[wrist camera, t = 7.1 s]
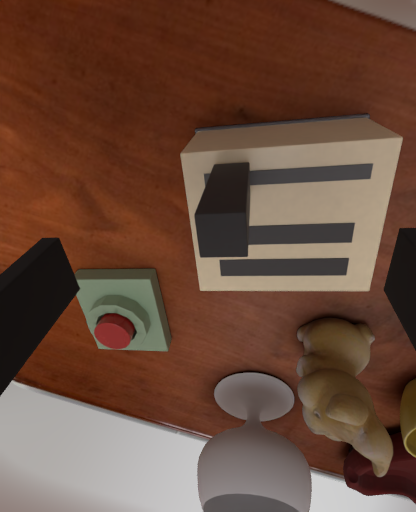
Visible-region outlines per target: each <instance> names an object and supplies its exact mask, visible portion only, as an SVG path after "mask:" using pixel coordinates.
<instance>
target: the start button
mask: <svg viewBox="0 0 416 512" xmlns="http://www.w3.org/2000/svg"><path fill="white" fill-rule="evenodd" d="M134 332H135V327H134V324H133V323H132V322H131V321H130V320H129V319H128V318H127V317H125V316H122V315H120V314H118V313H107V314H105V315H103V316H102V317H101V319H100V321H99V322H98V324H97V326H96V327H95V329H94V335H95V337H96V339H97V340H98V341H99V342H100V343H101V344H103V345H104V346H106V347H108V348H112V349H123V348H125V347H127V346H128V345H129V344H130V342H131V339H132V337H133V335H134Z"/></svg>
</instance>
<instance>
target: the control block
mask: <svg viewBox="0 0 416 512" xmlns="http://www.w3.org/2000/svg"><path fill="white" fill-rule="evenodd" d="M74 275H75V278H76V280H77V282H78V285H79V287H80V290H79V291H78V292H77V294H76V295H77V298H78V300H79V303H80V305H81V307H82V310H83V312H84V315H85V317H86V319H87V321H86V322H87V324H88V327H89V329H90V332H91V333H92V334H93V336H94V338H95V341H96V343H97V345H98V348H99V349H112V348H108V347H106V346H104V345H103V344H101V343H100V342H99V341H98V340H97V339H96V337H95V335H94V329H95V327H96V326H97V324H98V322H99V321H100V319H101V317H102V316H103V315H105V314H107V313H118V314H120V315H122V316H125V317H127V318H128V319H129V320H130V321H131V322H132V323H133V324H134V327H135V332H134V335H133V337H132V339H131V342H130V344H129V345H128V346H127V347H125V348H123V349H118V350H146V351H168V350H169V346H170V343H171V340H172V338H171V334H170V330H169V326H168V321H167V317H166V313H165V308H164V304H163V300H162V296H161V291H160V287H159V283H158V278H157V274H156V270H155V269H79V270H78V271H77V272H76V273H75V274H74Z"/></svg>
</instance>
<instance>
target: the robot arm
mask: <svg viewBox="0 0 416 512" xmlns="http://www.w3.org/2000/svg"><path fill="white" fill-rule="evenodd" d="M79 290H80V287H79V285H78V282H77V280H76V278H75V275H74V273H73V270H72V268H71V266H70V263H69V261H68V258H67V256H66V254H65V251H64V249H63V246H62V244H61V242H60V239H59V238H42V239H41V240H40V241H38V242H37V243H36V244H35V245H34V246H33V247H32V248H30V249H29V250H28V251H27V252H26V253H25V254H24V255H22V256H21V257H20V258H19V259H18V260H17V261H15V262H14V263H13V264H12V265H11V266H10V267H9V268H7V269H6V270H5V271H4V272H3V273H2V274H0V395H1V394H2V393H3V392H4V390H5V389H6V388H7V386H8V385H9V384H10V382H11V381H12V380H13V378H14V377H15V376H16V374H17V373H18V372H19V370H20V369H21V368H22V366H23V365H24V364H25V362H26V361H27V360H28V358H29V357H30V355H31V354H32V353H33V351H34V350H35V349H36V347H37V346H38V345H39V343H40V342H41V341H42V339H43V338H44V337H45V335H46V334H47V333H48V331H49V330H50V329H51V327H52V326H53V325H54V323H55V322H56V321H57V319H58V318H59V317H60V315H61V314H62V313H63V311H64V310H65V309H66V307H67V306H68V305H69V303H70V302H71V301H72V299H73V298H74V297H75V295H76V294H77V292H78V291H79ZM384 292H385V293H386V295H387V297H388V299H389V301H390V303H391V305H392V307H393V309H394V310H395V312H396V314H397V316H398V318H399V320H400V322H401V324H402V326H403V327H404V329H405V331H406V333H407V335H408V337H409V339H410V341H411V343H412V344H413V346H414V348H415V350H416V228H400V229H399V233H398V237H397V241H396V244H395V248H394V252H393V256H392V260H391V264H390V268H389V271H388V275H387V279H386V283H385V287H384Z"/></svg>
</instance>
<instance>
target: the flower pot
mask: <svg viewBox="0 0 416 512" xmlns="http://www.w3.org/2000/svg"><path fill="white" fill-rule="evenodd" d="M400 425H401V433H402V438H403V442H404V446H405V448H406V450H407V451H408V452H409V453H410V454H411V455H413V456H414V457H416V379H414V380H412V381H410V382H409V383H408V384H407V385H406V386H405V389H404V392H403V395H402V399H401V406H400Z"/></svg>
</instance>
